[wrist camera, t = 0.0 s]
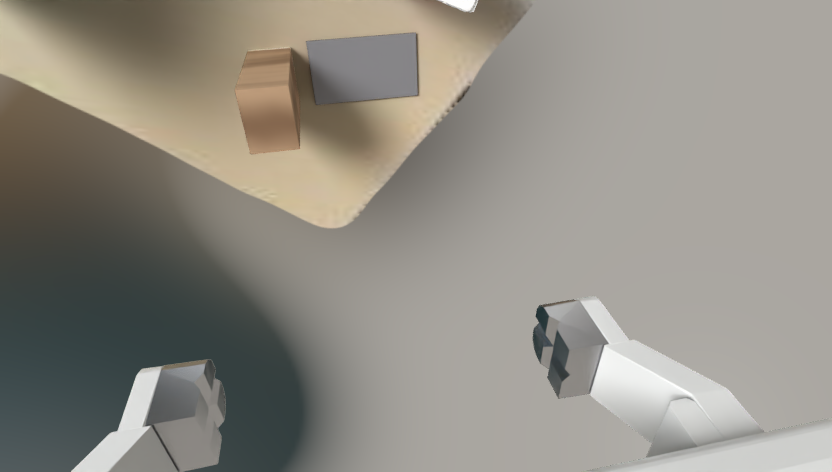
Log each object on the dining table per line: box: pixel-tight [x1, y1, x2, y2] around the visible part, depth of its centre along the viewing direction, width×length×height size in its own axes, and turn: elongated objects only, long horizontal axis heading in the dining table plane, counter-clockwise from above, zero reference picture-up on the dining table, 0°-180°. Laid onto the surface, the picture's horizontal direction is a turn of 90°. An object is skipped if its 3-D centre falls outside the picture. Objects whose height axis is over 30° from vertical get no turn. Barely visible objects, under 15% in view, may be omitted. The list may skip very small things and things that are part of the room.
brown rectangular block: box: [235, 47, 300, 154], centre depth 49 cm, size 6×4×13 cm
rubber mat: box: [306, 33, 418, 105], centre depth 55 cm, size 7×12×1 cm, turn 92°
